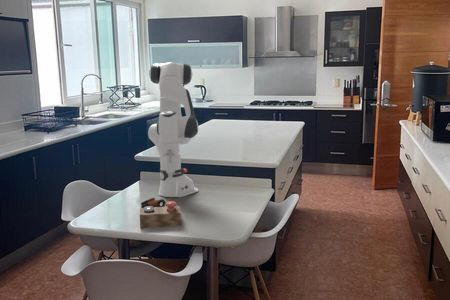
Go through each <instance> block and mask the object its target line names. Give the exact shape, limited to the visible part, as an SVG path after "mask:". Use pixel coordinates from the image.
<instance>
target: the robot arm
mask: <svg viewBox="0 0 450 300" xmlns="http://www.w3.org/2000/svg"><path fill="white" fill-rule="evenodd" d="M148 77H149V79H150V81H151V82H152V83H153V84H156V85H158V87H159V92H160V93H159V112H160V113H159V115H158V121H157V122H156V123H153V124H151V125H150V126H149V127H148V131H147V136H148V139H149V140H150V141H151V142H152V143H153V144H154V145H155V147H156V149H157V151H158V155H159V163H160V164H159V165H160V168H159V178H160V183H159V189H158V190H159V191H158V194H157V195H158V196H161V197H165V198H173V197H174V198H184V197H186V196H188V195H192V194H195V193H198V192H199V189H198V188H197V187H195V184H194V181H193V179H191V178H190V177H188V176H187V175H186V174H184V173H187V172H188V169H187V168H183V167H181V166H182V164H181V163H182V162H181V153H180V146H182V145H186V144H189V143H190V142H191V139H193V138H194V137H195V136H196V135H197V134H198V133H199V123H198V120H197V118H196V113H195V111H194V106H193V101H192V97H191V94H190V93H191V92H190V91H189V90H188V88H187V89H186V87H185V86H186V85H188V84H190V83H191V81H192V79H193V70H192V67H191V66H190V64H186V63H178V62H173V61H169V62H168V61H167V62H163V63H159V62H155V63H153V64H151V65H150V67H149V70H148ZM182 106H183V108H184V112H185V116H182V109H181V107H182Z"/></svg>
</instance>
